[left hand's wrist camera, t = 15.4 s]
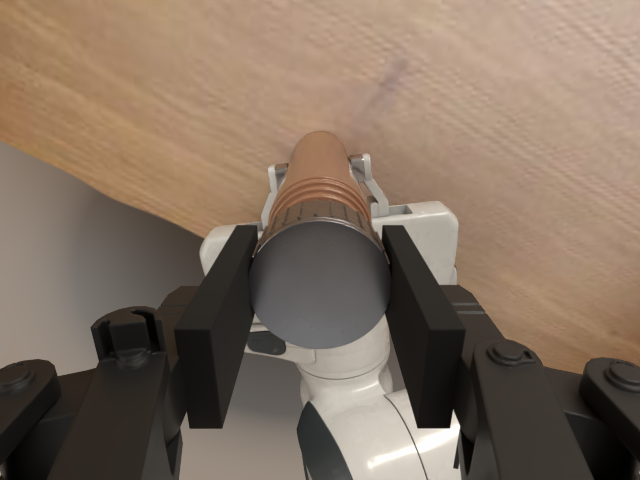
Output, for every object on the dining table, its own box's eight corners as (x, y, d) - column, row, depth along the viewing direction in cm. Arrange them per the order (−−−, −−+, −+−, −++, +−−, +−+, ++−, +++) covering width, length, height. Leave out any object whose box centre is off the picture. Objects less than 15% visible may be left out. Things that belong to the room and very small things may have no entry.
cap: (256, 194, 14) (243, 214, 11) (390, 201, 14) (403, 222, 12) (256, 311, 15) (246, 347, 13) (376, 316, 15) (385, 353, 13)
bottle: (294, 129, 34) (245, 209, 12) (348, 132, 34) (401, 218, 12) (292, 182, 36) (248, 341, 14) (344, 185, 36) (383, 347, 14)
